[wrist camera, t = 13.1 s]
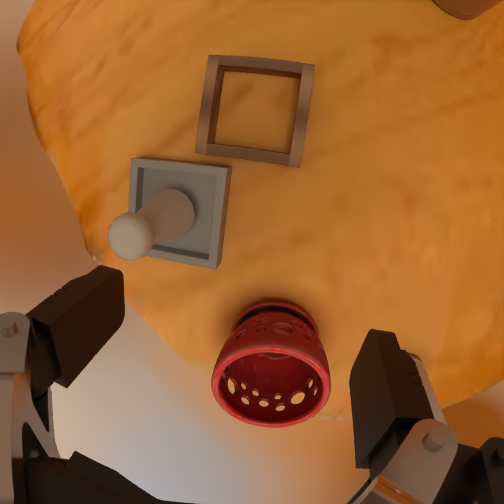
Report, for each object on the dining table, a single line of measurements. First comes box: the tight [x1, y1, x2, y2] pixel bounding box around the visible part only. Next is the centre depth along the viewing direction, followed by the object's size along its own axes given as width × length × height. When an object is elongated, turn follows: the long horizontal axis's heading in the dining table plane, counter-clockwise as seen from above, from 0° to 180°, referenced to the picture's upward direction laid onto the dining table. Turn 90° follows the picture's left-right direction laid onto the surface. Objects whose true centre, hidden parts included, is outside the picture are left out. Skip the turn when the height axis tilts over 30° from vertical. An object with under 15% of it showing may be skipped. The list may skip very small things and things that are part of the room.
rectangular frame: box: [195, 55, 315, 168], centre depth 32 cm, size 11×11×3 cm
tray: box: [129, 157, 232, 269], centre depth 37 cm, size 12×12×2 cm
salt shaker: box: [108, 189, 195, 261], centre depth 31 cm, size 6×6×13 cm
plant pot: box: [211, 301, 331, 428], centre depth 36 cm, size 13×13×12 cm
